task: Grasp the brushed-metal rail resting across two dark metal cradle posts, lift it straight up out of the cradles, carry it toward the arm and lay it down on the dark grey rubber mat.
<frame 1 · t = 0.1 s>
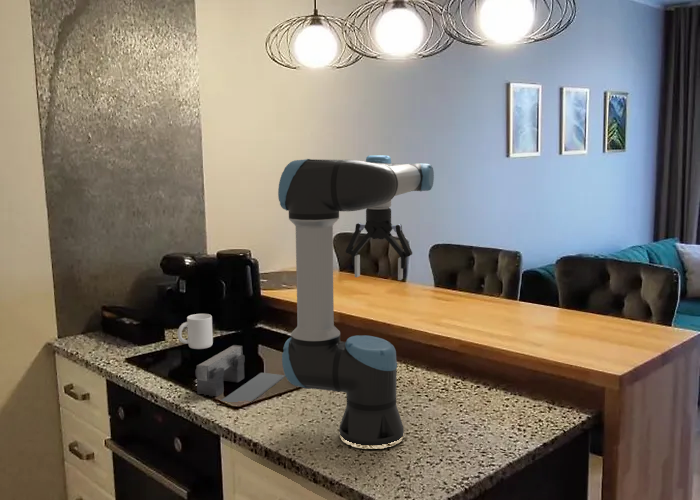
hand: (378, 277, 208), 28 cm above the worktop, fingers open, 13 cm apart
mat: (253, 389, 193), on the worktop
mug: (195, 347, 235), on the worktop
post b: (232, 379, 202), on the worktop
rail: (221, 369, 196), point 5 cm above the worktop, touching post a, post b
post a: (210, 393, 191), on the worktop
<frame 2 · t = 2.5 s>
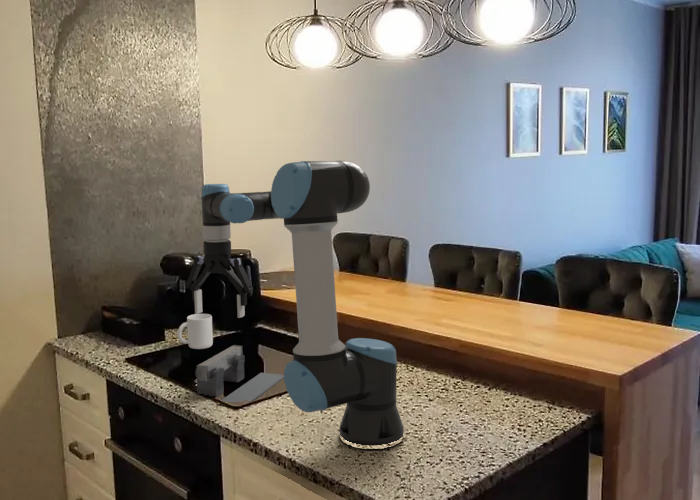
hand: (219, 314, 193), 21 cm above the worktop, fingers open, 13 cm apart
nothing on the worktop moved.
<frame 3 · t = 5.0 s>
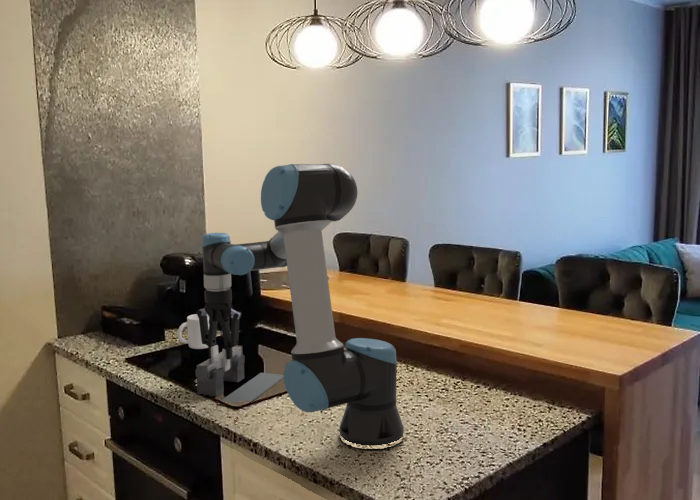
hand: (221, 369, 196), 5 cm above the worktop, fingers closed on rail, 3 cm apart
rail: (221, 369, 196), point 5 cm above the worktop, touching gripper, post a, post b
everything else where it was.
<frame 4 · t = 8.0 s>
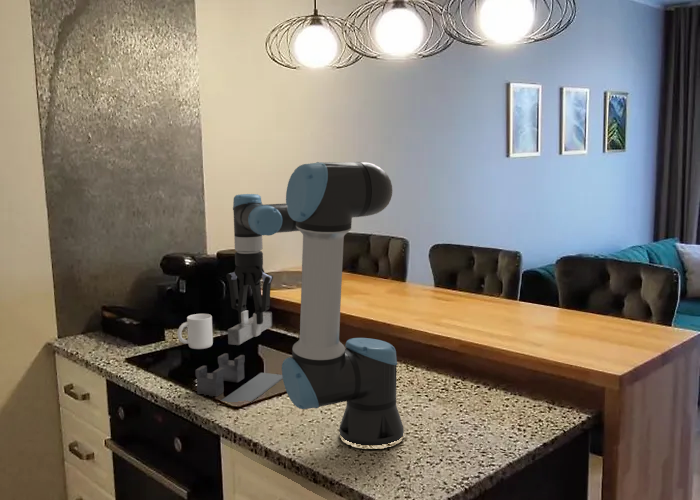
hand: (251, 334, 191), 16 cm above the worktop, fingers closed on rail, 3 cm apart
rail: (251, 334, 191), point 16 cm above the worktop, touching gripper
everything else where it was.
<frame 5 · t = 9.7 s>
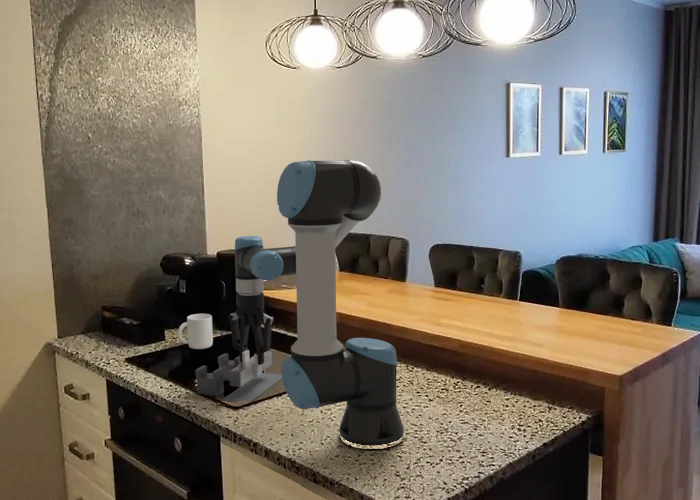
hand: (252, 374, 193), 5 cm above the worktop, fingers closed on rail, 3 cm apart
rail: (252, 374, 193), point 5 cm above the worktop, touching gripper
everything else where it was.
when the fingers open (2 cm above the worktop, at t = 10.9 s): rail drops 2 cm, resting on mat.
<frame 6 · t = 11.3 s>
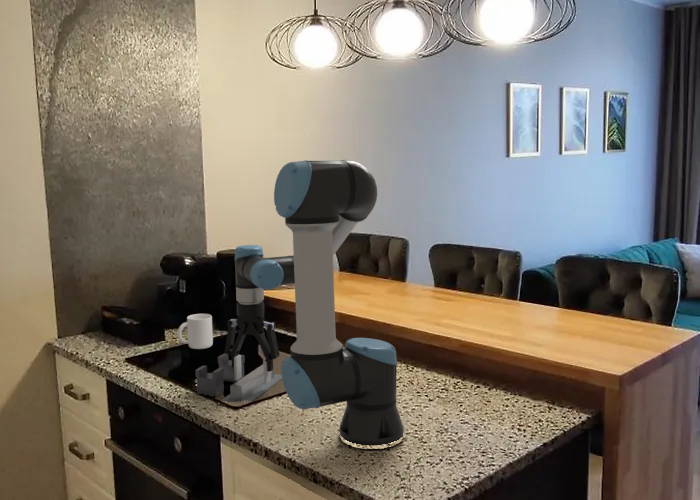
hand: (252, 380, 193), 3 cm above the worktop, fingers open, 8 cm apart
rail: (253, 388, 193), resting on mat
everything else where it was.
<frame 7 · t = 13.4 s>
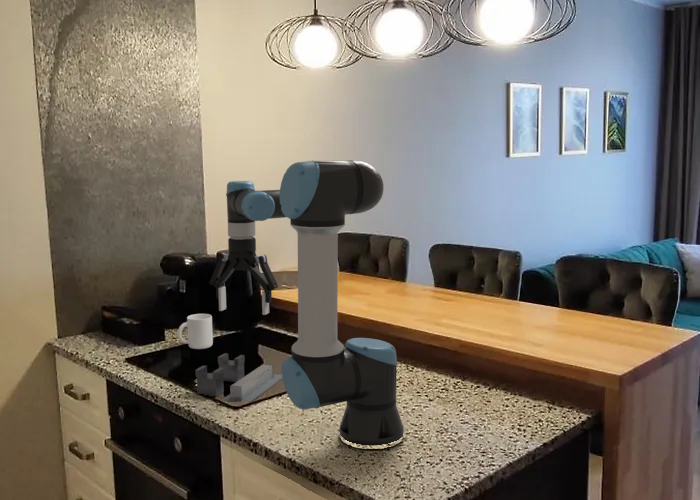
hand: (244, 311, 194), 22 cm above the worktop, fingers open, 13 cm apart
nothing on the worktop moved.
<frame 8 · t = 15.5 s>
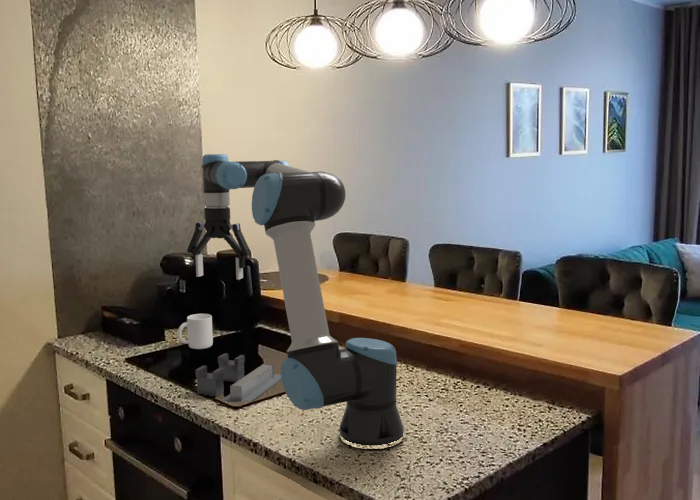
hand: (219, 277, 207), 29 cm above the worktop, fingers open, 13 cm apart
nothing on the worktop moved.
at the end: rail inside the target area (0.1 cm from its centre), resting on mat; rail touching mat; the gripper is holding nothing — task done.
